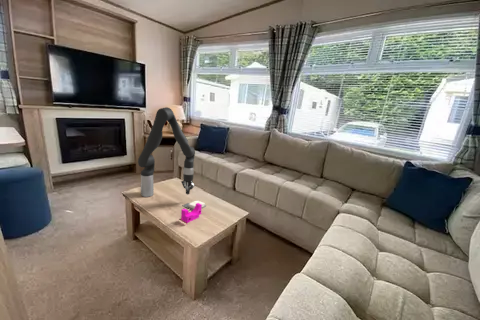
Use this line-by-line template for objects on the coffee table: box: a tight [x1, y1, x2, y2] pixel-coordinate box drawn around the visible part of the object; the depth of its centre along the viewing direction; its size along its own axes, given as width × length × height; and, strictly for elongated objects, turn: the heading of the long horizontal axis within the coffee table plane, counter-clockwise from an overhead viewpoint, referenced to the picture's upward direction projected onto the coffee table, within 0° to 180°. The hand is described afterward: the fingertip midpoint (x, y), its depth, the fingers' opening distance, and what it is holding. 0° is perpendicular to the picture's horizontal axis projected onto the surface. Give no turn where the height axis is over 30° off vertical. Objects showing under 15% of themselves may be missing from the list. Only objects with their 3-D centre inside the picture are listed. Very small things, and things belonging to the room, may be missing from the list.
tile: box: [189, 200, 206, 209], centre depth 165 cm, size 2×9×8 cm
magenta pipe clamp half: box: [180, 203, 203, 224], centre depth 149 cm, size 15×6×8 cm, turn 144°
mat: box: [182, 202, 207, 211], centre depth 166 cm, size 14×12×1 cm
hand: (187, 194), depth 168 cm, fingers closed
